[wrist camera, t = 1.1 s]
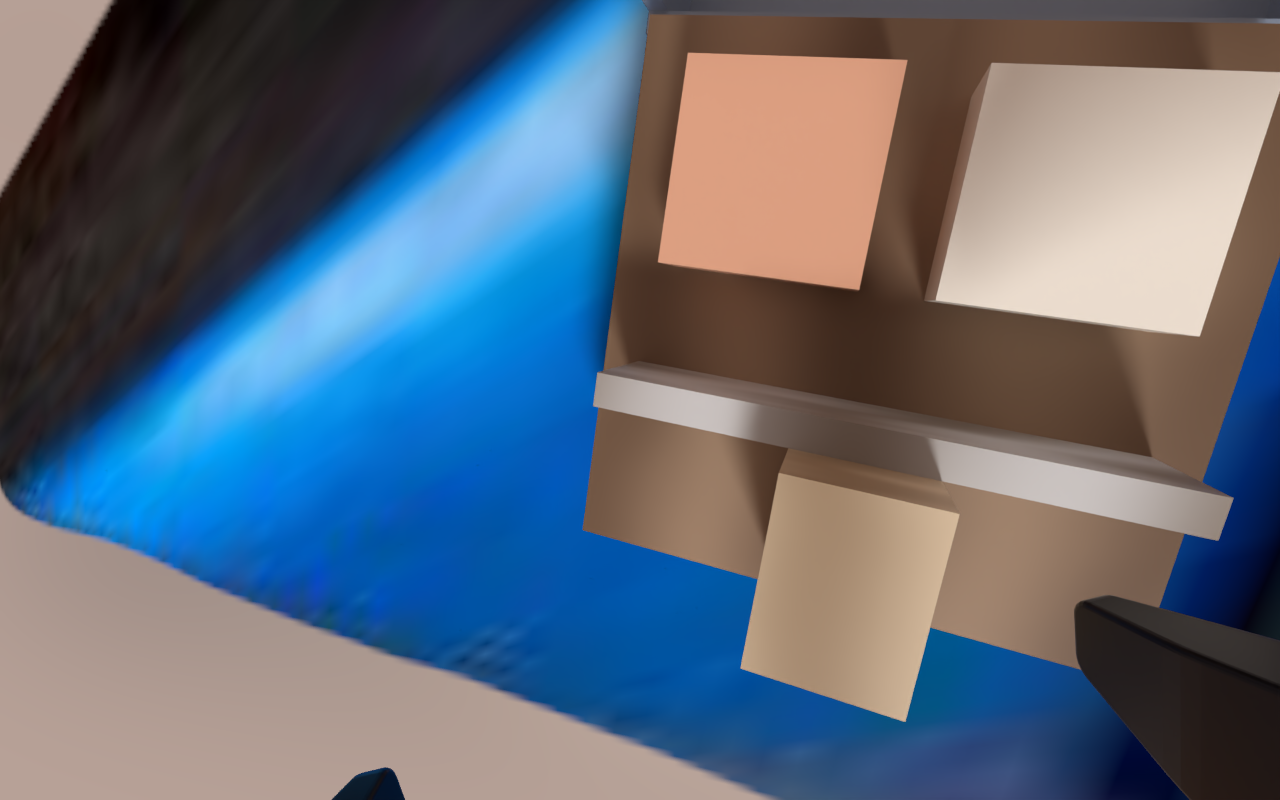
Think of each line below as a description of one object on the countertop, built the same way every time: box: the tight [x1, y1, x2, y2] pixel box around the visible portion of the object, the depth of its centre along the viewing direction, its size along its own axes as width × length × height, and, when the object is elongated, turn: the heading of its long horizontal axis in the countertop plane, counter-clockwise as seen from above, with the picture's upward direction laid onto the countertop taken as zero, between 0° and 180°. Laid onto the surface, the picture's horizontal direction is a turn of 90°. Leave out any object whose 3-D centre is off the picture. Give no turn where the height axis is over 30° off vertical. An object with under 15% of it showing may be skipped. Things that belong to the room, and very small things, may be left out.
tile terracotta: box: [658, 53, 908, 292], centre depth 14 cm, size 4×4×2 cm
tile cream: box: [924, 63, 1280, 337], centre depth 12 cm, size 4×4×2 cm
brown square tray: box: [583, 14, 1280, 669], centre depth 17 cm, size 14×14×5 cm
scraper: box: [593, 361, 1233, 722], centre depth 13 cm, size 12×5×5 cm, turn 82°
